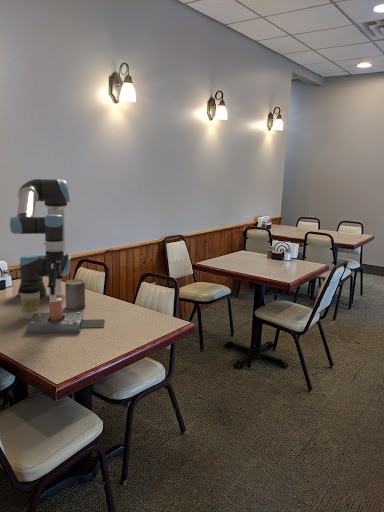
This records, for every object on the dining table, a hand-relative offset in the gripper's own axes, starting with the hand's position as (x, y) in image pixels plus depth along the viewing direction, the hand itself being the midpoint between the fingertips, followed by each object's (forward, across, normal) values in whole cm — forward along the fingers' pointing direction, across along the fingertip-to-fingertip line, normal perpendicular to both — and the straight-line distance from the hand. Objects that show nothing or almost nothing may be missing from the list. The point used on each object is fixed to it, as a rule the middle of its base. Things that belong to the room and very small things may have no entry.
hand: (55, 297), depth 183 cm
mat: (+14, -3, +16) cm, 21 cm away
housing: (+14, 0, 0) cm, 14 cm away
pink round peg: (+14, 0, 0) cm, 14 cm away
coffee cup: (+14, -14, -14) cm, 24 cm away
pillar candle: (+14, -28, +5) cm, 32 cm away
